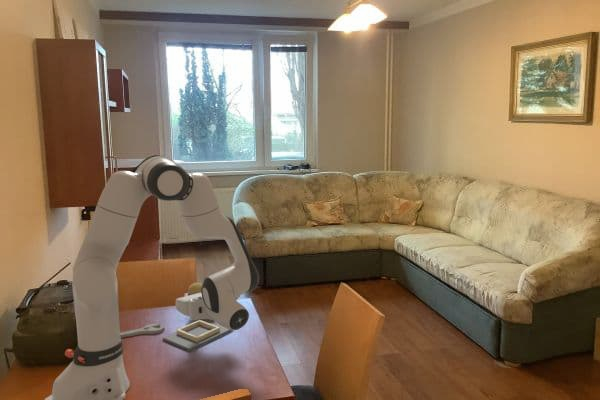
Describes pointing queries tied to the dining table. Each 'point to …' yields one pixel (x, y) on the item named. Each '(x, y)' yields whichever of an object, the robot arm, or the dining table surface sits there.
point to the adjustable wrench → (144, 330)
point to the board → (196, 334)
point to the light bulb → (195, 288)
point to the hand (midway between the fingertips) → (196, 292)
